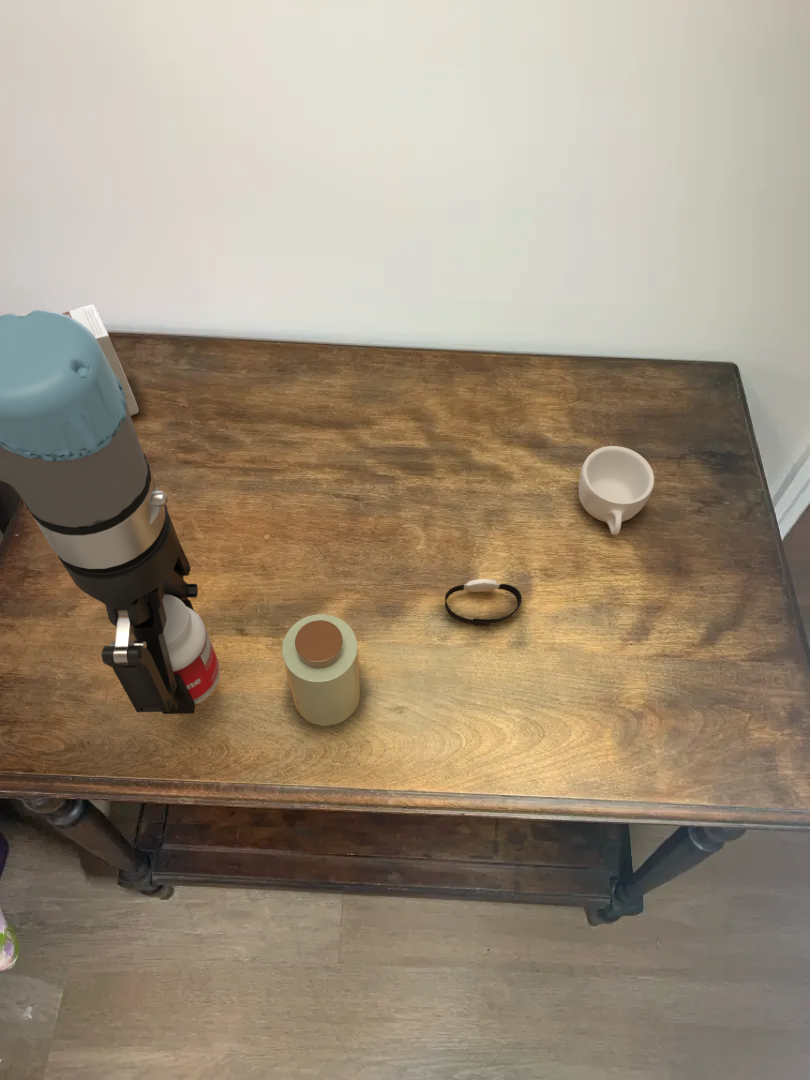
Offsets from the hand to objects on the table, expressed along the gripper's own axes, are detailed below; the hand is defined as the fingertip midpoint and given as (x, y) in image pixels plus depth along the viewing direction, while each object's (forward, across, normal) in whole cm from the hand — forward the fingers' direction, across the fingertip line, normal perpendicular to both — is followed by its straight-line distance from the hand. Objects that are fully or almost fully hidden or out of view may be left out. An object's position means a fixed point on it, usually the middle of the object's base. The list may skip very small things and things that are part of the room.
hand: (184, 673), depth 73 cm
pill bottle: (+1, 0, 0) cm, 1 cm away
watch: (+6, +9, -28) cm, 30 cm away
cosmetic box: (+5, +38, +14) cm, 41 cm away
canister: (+5, 0, -12) cm, 13 cm away
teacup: (+6, +21, -43) cm, 48 cm away
